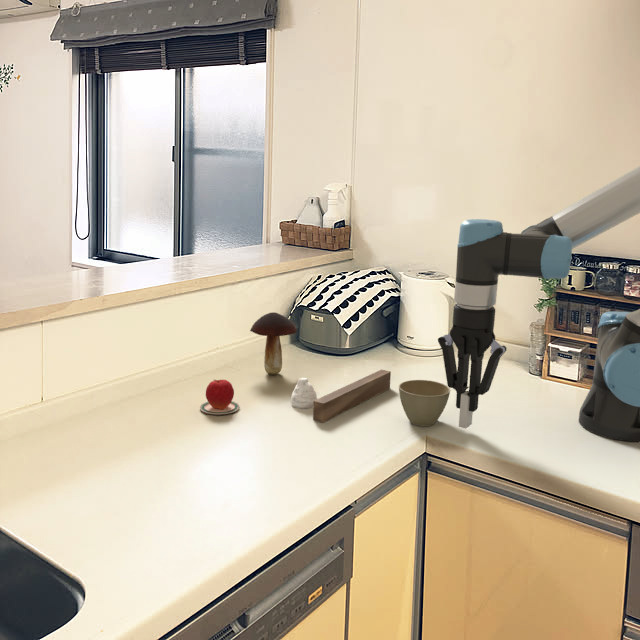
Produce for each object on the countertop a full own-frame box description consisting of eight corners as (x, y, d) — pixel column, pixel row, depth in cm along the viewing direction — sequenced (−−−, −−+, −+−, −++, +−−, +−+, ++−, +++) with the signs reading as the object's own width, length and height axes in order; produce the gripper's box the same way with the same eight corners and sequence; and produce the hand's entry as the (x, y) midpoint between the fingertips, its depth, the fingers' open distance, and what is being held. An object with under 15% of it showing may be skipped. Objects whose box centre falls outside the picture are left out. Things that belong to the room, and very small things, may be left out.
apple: (193, 413, 142) (192, 382, 141) (210, 400, 150) (210, 371, 148) (229, 418, 140) (229, 387, 138) (245, 405, 147) (245, 375, 146)
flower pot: (447, 433, 135) (449, 398, 133) (394, 428, 137) (396, 393, 135) (448, 414, 144) (450, 381, 142) (399, 410, 146) (401, 377, 144)
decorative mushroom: (246, 369, 171) (245, 308, 167) (290, 365, 174) (290, 306, 170) (255, 383, 160) (255, 319, 157) (302, 379, 164) (303, 316, 160)
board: (389, 388, 159) (390, 371, 158) (323, 422, 138) (323, 403, 138) (380, 386, 160) (381, 369, 159) (313, 419, 140) (313, 400, 139)
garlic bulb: (286, 379, 145) (298, 372, 150) (286, 406, 147) (298, 398, 152) (310, 383, 143) (322, 375, 148) (310, 411, 145) (321, 402, 149)
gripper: (516, 306, 128) (505, 427, 134) (450, 296, 136) (442, 411, 141) (500, 314, 123) (489, 440, 128) (433, 303, 130) (425, 423, 135)
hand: (465, 425), depth 135 cm, fingers closed
